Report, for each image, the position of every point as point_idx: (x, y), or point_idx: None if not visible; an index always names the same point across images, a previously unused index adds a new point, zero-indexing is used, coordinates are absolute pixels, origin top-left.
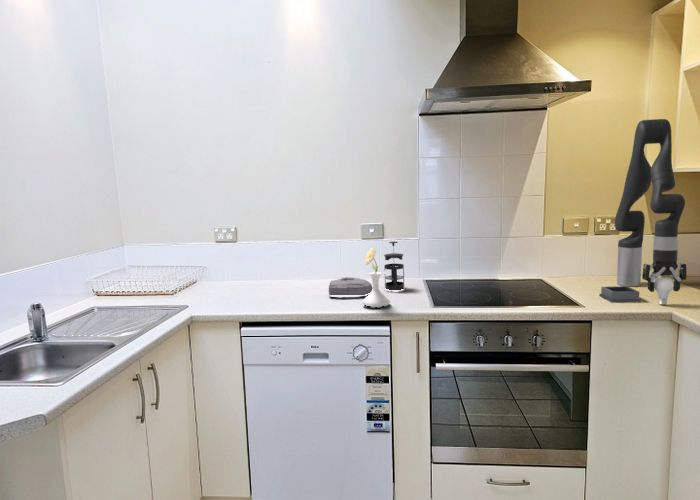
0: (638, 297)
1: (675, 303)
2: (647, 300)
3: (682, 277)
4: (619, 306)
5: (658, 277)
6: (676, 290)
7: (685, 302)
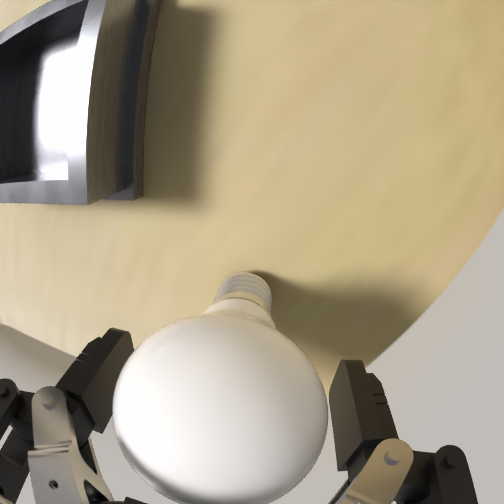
0: (111, 193)
1: (360, 264)
2: (216, 142)
3: (401, 498)
4: (32, 271)
5: (136, 470)
6: (329, 400)
7: (433, 249)
